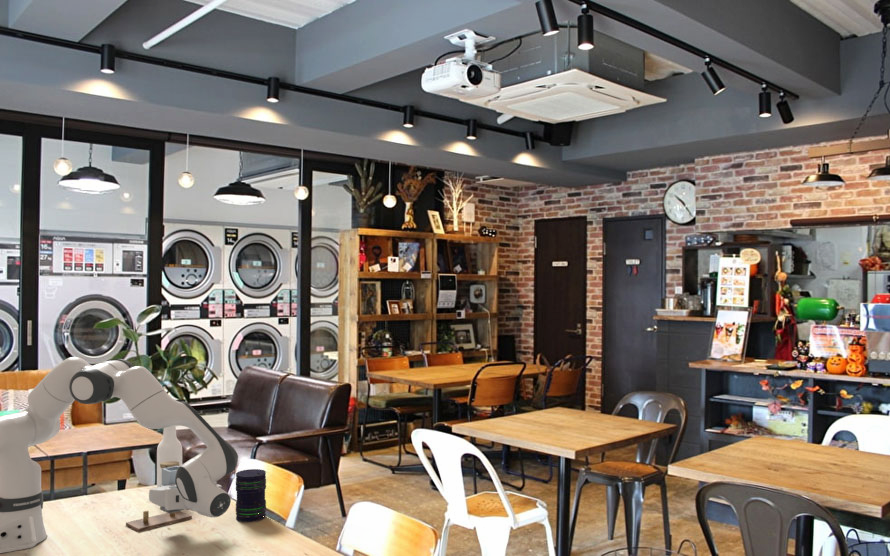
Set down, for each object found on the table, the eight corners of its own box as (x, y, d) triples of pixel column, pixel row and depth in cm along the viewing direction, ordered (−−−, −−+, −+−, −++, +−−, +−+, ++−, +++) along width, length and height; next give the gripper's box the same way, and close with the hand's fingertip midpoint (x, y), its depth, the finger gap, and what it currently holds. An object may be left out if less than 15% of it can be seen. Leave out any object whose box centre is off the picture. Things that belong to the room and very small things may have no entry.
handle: (164, 503, 263) (164, 461, 263) (181, 503, 262) (181, 461, 262) (157, 507, 258) (157, 464, 258) (175, 507, 257) (175, 464, 257)
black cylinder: (229, 520, 243) (229, 475, 243) (246, 511, 252) (246, 468, 253) (255, 523, 240) (255, 477, 240) (271, 514, 249) (271, 470, 249)
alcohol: (153, 499, 268) (153, 416, 268) (160, 492, 276) (161, 412, 277) (178, 498, 268) (178, 416, 269) (184, 491, 277) (185, 412, 278)
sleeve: (168, 513, 229) (169, 471, 229) (160, 509, 233) (160, 468, 233) (185, 509, 233) (186, 468, 233) (177, 506, 237) (177, 465, 237)
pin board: (138, 531, 232) (138, 517, 232) (125, 525, 238) (125, 511, 238) (191, 518, 245) (191, 505, 245) (178, 513, 251) (178, 499, 251)
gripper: (224, 477, 232) (202, 469, 241) (162, 490, 217) (140, 481, 226) (224, 497, 232) (202, 489, 241) (161, 511, 217) (140, 501, 226)
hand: (171, 485), depth 234 cm, fingers closed on sleeve, 5 cm apart
